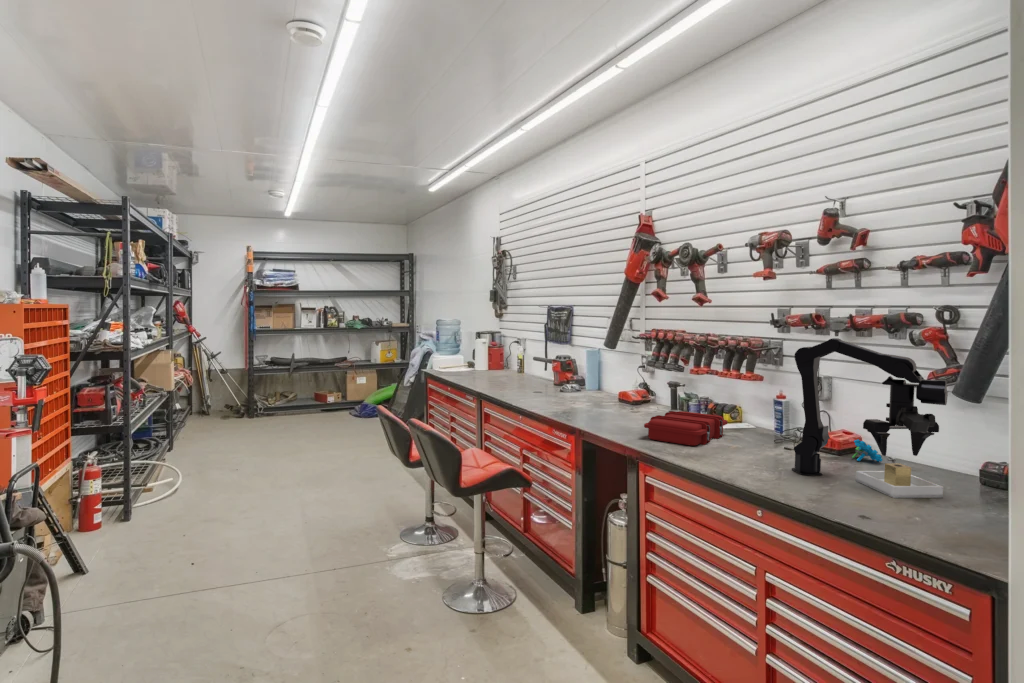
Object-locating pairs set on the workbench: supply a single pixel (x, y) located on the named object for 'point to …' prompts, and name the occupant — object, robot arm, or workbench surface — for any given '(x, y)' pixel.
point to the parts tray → (915, 490)
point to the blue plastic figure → (865, 451)
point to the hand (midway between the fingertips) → (899, 455)
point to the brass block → (897, 474)
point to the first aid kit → (685, 427)
